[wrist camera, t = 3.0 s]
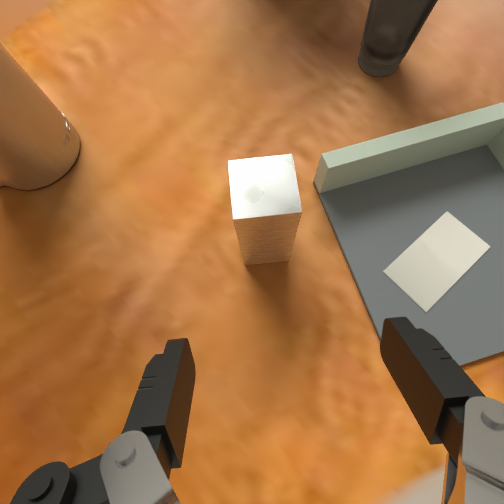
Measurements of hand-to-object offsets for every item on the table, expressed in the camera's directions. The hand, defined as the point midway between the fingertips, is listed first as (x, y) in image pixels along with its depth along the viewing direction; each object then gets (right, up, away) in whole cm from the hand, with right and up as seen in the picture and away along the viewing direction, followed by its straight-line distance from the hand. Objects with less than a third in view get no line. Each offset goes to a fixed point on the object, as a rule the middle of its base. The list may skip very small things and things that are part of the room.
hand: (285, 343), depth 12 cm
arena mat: (+16, +5, +14) cm, 22 cm away
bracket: (0, +7, +16) cm, 17 cm away
